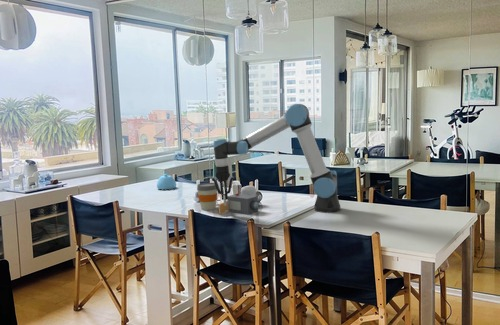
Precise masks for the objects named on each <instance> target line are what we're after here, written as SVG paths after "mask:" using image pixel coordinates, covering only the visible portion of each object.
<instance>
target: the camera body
mask: <svg viewBox="0 0 500 325" xmlns="http://www.w3.org/2000/svg"><path fill="white" fill-rule="evenodd" d="M227 200H229V210H227V211H228V212H233V213H237V214H239V213H240V214H245V215H246V214H247V215H249V214H253V213H256V212H259V206H260V204H259V198H258V195H256V196H253V195H245V194H241V193H239V192H235V193H234V194H231V195H228V199H227Z"/></svg>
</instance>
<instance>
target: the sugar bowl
mask: <svg viewBox="0 0 500 325" xmlns="http://www.w3.org/2000/svg"><path fill="white" fill-rule="evenodd" d="M176 187H177V183H176V180H175V178H174V177H173V176H172V175H168V173H164V174H163V175H161V176H160V177H159V178H158V180H157V183H156V188H157V189H158V190H159V189H170V190H174V189H175V188H176ZM173 188H174V189H173Z"/></svg>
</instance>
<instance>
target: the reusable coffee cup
mask: <svg viewBox="0 0 500 325" xmlns="http://www.w3.org/2000/svg"><path fill="white" fill-rule="evenodd" d="M196 186H197V187H196V189H197V192H198V194H197V196H198V201H199V204H200V208H201V210H203V211H210V210H215V209H216V208H217V200H218V192H217V189H216V186H215V183H214V182H203V183H198V184H197V185H196Z"/></svg>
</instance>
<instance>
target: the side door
mask: <svg viewBox="0 0 500 325" xmlns="http://www.w3.org/2000/svg"><path fill="white" fill-rule="evenodd" d="M226 203H227V205H226V206H224V201H223V202H221V203H219V204H218V214H219V215H220V214H223V213H225V212H227V211H228V210H229V200H228V199H227V200H226Z"/></svg>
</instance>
